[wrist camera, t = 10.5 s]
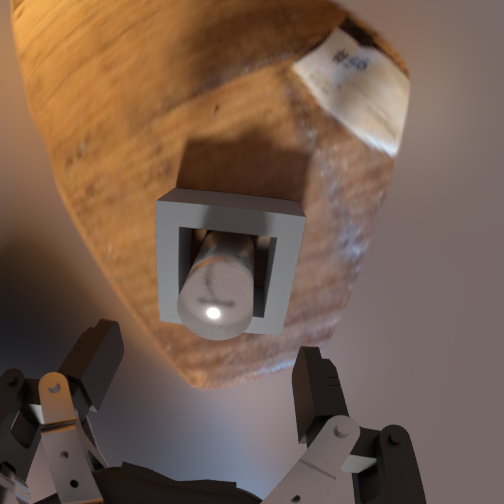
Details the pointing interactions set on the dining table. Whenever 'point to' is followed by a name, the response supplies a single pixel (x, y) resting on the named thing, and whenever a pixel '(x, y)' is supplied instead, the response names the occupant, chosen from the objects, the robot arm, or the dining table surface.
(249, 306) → the peg
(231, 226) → the box
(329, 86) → the dining table surface
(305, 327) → the dining table surface
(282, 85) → the dining table surface
